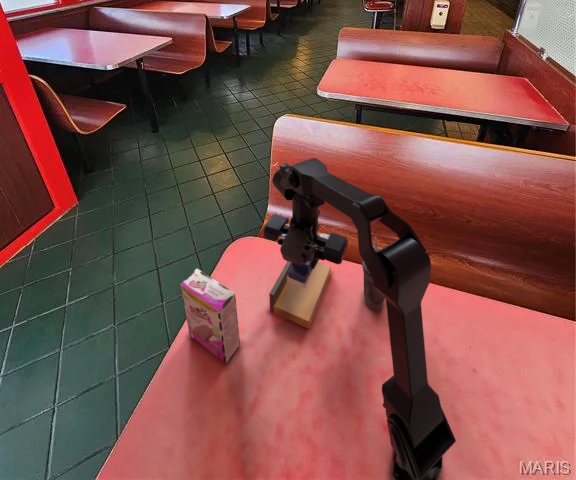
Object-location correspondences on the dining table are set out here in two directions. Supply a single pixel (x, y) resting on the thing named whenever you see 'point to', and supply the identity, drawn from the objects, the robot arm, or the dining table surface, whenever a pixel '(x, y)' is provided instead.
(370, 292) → the beverage cup
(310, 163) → the robot arm
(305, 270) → the navy stepped block
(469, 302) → the dining table surface
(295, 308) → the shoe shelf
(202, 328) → the candy bar box
